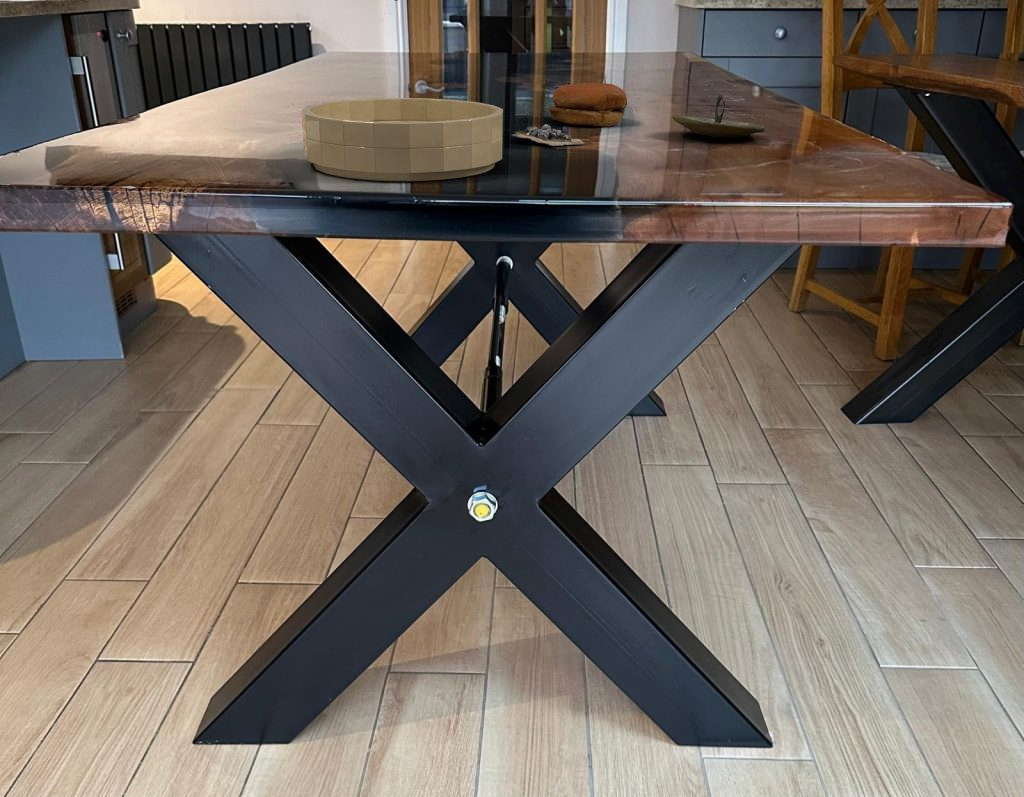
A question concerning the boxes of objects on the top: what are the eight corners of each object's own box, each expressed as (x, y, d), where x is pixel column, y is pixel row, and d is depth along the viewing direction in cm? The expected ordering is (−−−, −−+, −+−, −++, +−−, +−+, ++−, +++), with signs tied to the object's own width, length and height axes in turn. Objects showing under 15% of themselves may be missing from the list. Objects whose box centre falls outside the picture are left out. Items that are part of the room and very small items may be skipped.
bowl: (319, 187, 80) (315, 125, 78) (296, 151, 96) (292, 99, 94) (527, 177, 85) (529, 119, 83) (473, 145, 101) (473, 96, 99)
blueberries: (521, 135, 108) (522, 118, 107) (591, 139, 106) (592, 121, 105) (505, 144, 102) (505, 125, 101) (578, 148, 100) (579, 130, 99)
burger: (588, 129, 113) (590, 88, 111) (534, 121, 119) (535, 82, 117) (643, 123, 119) (645, 84, 117) (588, 115, 125) (590, 78, 123)
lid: (658, 151, 108) (660, 108, 105) (686, 119, 115) (689, 78, 112) (751, 164, 104) (755, 119, 101) (774, 129, 111) (779, 87, 108)
